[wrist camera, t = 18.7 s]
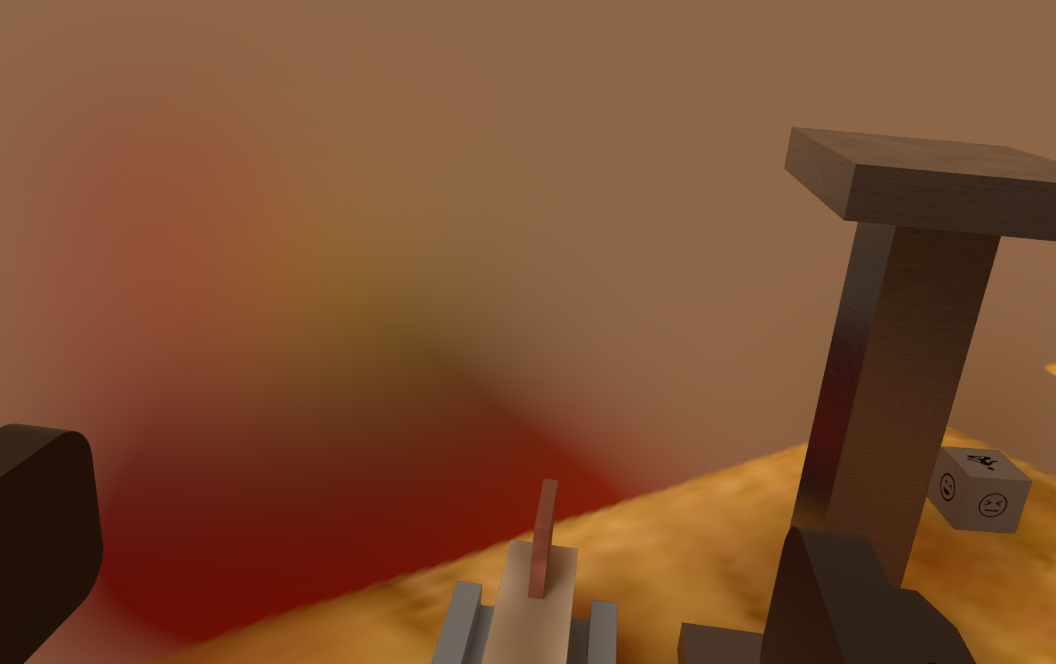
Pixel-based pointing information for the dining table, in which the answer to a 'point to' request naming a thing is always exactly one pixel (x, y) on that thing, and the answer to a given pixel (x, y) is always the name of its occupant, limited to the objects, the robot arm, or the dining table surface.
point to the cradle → (471, 624)
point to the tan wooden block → (534, 596)
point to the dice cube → (978, 489)
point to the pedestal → (895, 328)
